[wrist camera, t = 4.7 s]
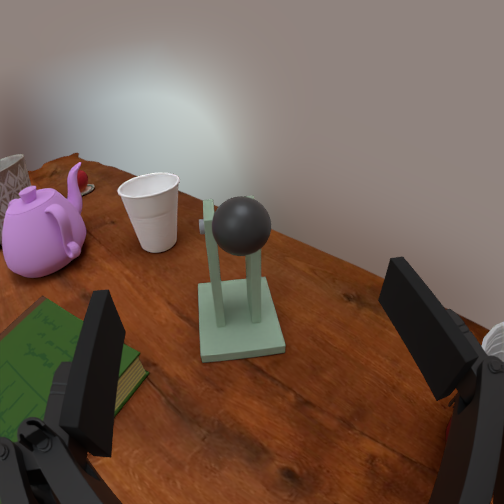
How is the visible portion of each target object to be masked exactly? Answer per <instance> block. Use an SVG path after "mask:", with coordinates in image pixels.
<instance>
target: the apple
mask: <svg viewBox="0 0 504 504" xmlns="http://www.w3.org/2000/svg"><path fill="white" fill-rule="evenodd" d="M77 182H78V187H79V190H80V193H81V195H84V194H86V193H88V192H90V191H92V190H93V189H94V185H91V184H88V176H87V174H86V173H85V172H84V171H82V170H78V173H77ZM87 184H88V185H87Z"/></svg>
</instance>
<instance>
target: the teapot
mask: <svg viewBox="0 0 504 504" xmlns="http://www.w3.org/2000/svg"><path fill="white" fill-rule="evenodd" d="M80 165H81V162H80V163H78V164H76V165H75V166H74V167H73V168H72V169H71V170H70V172H69V174H68V197H67V199H66V198H65V197H64V196H63V195H61V194H60V193H59V192H57V191H56V190H54V189H51V188H46V189H40V190H37V191H36V186H30V187H27V188H25V189H23V190H22V191H20V192H19V196H20V197H21V198H19V199H13V200H11V201H10V202H9V204H8V209H7V211H6V214H5V218H4V224H3V231H2V248H3V254H4V258H5V261H6V263H7V266H8V267H9V268H10V269H11V270H12V271H13V272H15V273H17V274H19V275H22V276H25V277H28V278H37V277H42V276H46V275H49V274H51V273H54V272H56V271H58V270H59V269H61V268H63V267H64V266H66V265H67V264H68V263H70V262H71V261H72V260H73V259H74V258H76V257H78V256H79V255H80V253H81V247H82V245H83V243H84V240H85V237H86V227H85V224H84V222H83V220H82V218H81V216H80V214H81V211H82V197H81V193H80V190H79V187H78V182H77V173H78V170H79V167H80Z"/></svg>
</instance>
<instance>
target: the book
mask: <svg viewBox="0 0 504 504" xmlns="http://www.w3.org/2000/svg"><path fill="white" fill-rule="evenodd" d="M83 322H84V321H82V320H81V319H79V318H77V317H76V316H74V315H72V314H71V313H69V312H68V311H66V310H64V309H63V308H61V307H60V306H58V305H57V304H55V303H53V302H52V301H50V300H49V299H47V298H46V297H44V296H41V297H40V298H39V299H38V300H37V301H36V302H34V303H33V304H32V305H31V306H30V307H29V308H28V309H27V310H25V311H24V312H23V313H22V314H21V315H20V316H19V317H18V318H17V319H16V320H14V321H13V322H12V323H11V324H10V325H9V326H8V327H7V328H6V329H5V330H4V331H3V332H2V333H1V334H0V437H6V438H8V439H10V440H11V441H12V442H18V439H17V429H18V427H19V425H20V423H21V422H22V421H23V420H24V419H26V418H29V417H37V418H39V419H41V420H42V421H43V419H44V414H45V410H46V405H47V401H48V396H49V394H50V388H51V385H52V380H53V377H54V373H55V371H56V369H57V368H58V366H59V365H60V363H61V362H72V361H73V357H74V353H75V349H76V346H77V342H78V338H79V335H80V332H81V328H82V325H83ZM139 355H140V352H138V351H136V350H134V349H132V348H130V347H129V346H127V345H125V344H123V351H122V357H121V364H120V371H119V379H118V387H117V395H116V404H115V414H114V417H115V416H116V415H117V414H118V412H119V411H120V410H121V409H122V407H123V406H124V405H125V403H126V402H127V401H128V400H129V398H130V397H131V396H132V395H133V393H134V392H135V391H136V390H137V388H138V387H139V386H140V385H141V383H142V382H143V381H144V380H145V378H146V377H147V376H148V375H149V372H148V371H146V370H144V368H143V366H142V364H141V362H140V360H139V358H138V356H139ZM0 504H1V500H0Z"/></svg>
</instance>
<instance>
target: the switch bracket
mask: <svg viewBox="0 0 504 504" xmlns="http://www.w3.org/2000/svg"><path fill="white" fill-rule="evenodd" d="M244 197H249V198H252V199H254V197H253V196H244ZM254 200H255V199H254ZM203 216H204V219H201V220H199V227H200V234H205V238H206V246H207V255H208V263H209V271H210V279H211V282H210V283H200V284H198V300H199V329H200V351H201V359H202V362H203V363H204V362H214V361H224V360H233V359H242V358H250V357H258V356H265V355H272V354H279V353H285V346H286V345H285V342H284V338H283V335H282V332H281V328H280V325H279V321H278V318H277V314H276V311H275V308H274V304H273V301H272V297H271V294H270V291H269V287H268V284H267V280H266V277H261V249H260V250H258V251H257V252H255V253H253V254H250V255H246V279H240V280H230V281H221V277H220V267H219V257H218V246H217V242H216V241H215V239H214V237H213V233H212V219H213V216H214V203H213V199H210V200H203Z"/></svg>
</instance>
